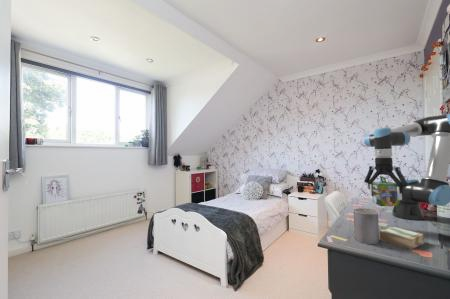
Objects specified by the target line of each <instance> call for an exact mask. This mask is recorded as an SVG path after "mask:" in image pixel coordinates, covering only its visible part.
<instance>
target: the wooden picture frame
mask: <svg viewBox="0 0 450 299" xmlns="http://www.w3.org/2000/svg"><path fill="white" fill-rule="evenodd" d="M380 240H381V241H383V242H387V243H389V244H392V245H396V246H400V247H403V248H407V249H409V250H413V249H415V248H417V247H420V246H421V245H423V244H425V234H424V233H421V232H418V231H413V230H408V229H404V228H400V227H396V226H390V227H387V228H385V229H382V230H379V241H380Z"/></svg>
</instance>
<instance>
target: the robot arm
mask: <svg viewBox="0 0 450 299" xmlns="http://www.w3.org/2000/svg"><path fill="white" fill-rule="evenodd" d="M420 136H430V137H432V139H433V141H432V144H431V145H432V146H431V150H430V153H429V159H428V164H427V167H426V173H425V176H424V177H421V179H420V181H419V179H406V178H405V176H404V175H403V173H402V171H401V167H400V166H393V162H394V161H393V147H400V146H401V147H402V146H406V145H408V144H409V143H410V142H411V137H413V138H416V137H420ZM363 144H364V145H365V146H366V147H368V148H371V147H372V148H374V157H375V158H374V164H375V166H374V165H370V166H368V172H367V174H366V176H365V178H364V181H363V182H364V183H366V184H367V189H368V190H369V196H370V197H373V195H372V182H375V181H376V179H377V178H378V177H380V175H381V176H382V175H384V176H389V177H390V178H391V179H392V180H393V182H394V183H396V184H397V185H398V186H399V187H397V198H398V200H400V206H393V208H392V210H391V212H392V214H391V215H392V216H393V217H395V218H399V219H405V220H414V221H420V220H424V213H423V211H422V208H421V206H420V203H424V204H426V205H427V204H429V205H432V206H443V207H444V206H446V205H449V204H450V183H449V181H447V177H448V172H449V168H450V113H447V114H441V115H434V116H427V117H423V118H420V119H417V120H414V121H413V120H412V121H411V122H408V123H406V125H402V126H398V127H396V128H390V127H380V128H375V129H374V130H373V133H371V134H366V135H365V136H364V138H363ZM374 171H375V172H374ZM393 171H394V172H395V173H396V175H397V176H396V175H395V173H394V172H393ZM373 173H374V174H373Z"/></svg>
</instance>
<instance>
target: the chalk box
mask: <svg viewBox="0 0 450 299" xmlns="http://www.w3.org/2000/svg"><path fill="white" fill-rule="evenodd" d="M379 178H380V181H374V182H372V195H373V196H372V203H374V204H376V205H378V206H379V207H394V206H400V200H398V198H397V187H399V186H398V185H397V184H396V183H395V182H390V181H387V179H386V178H385V176H382V175H381V176H380V175H379Z"/></svg>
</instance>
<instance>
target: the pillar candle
mask: <svg viewBox="0 0 450 299" xmlns="http://www.w3.org/2000/svg"><path fill="white" fill-rule="evenodd" d="M353 230H354V231H353V233H354V234H353V235H354V240H355V241H356V242H358V243H361V244H364V245H378V244H380V232H379V231H380V228H379V212H378V210H375V209H370V208H367V207H365V208H363V207H361V208H360V207H359V208H354V209H353Z"/></svg>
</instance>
